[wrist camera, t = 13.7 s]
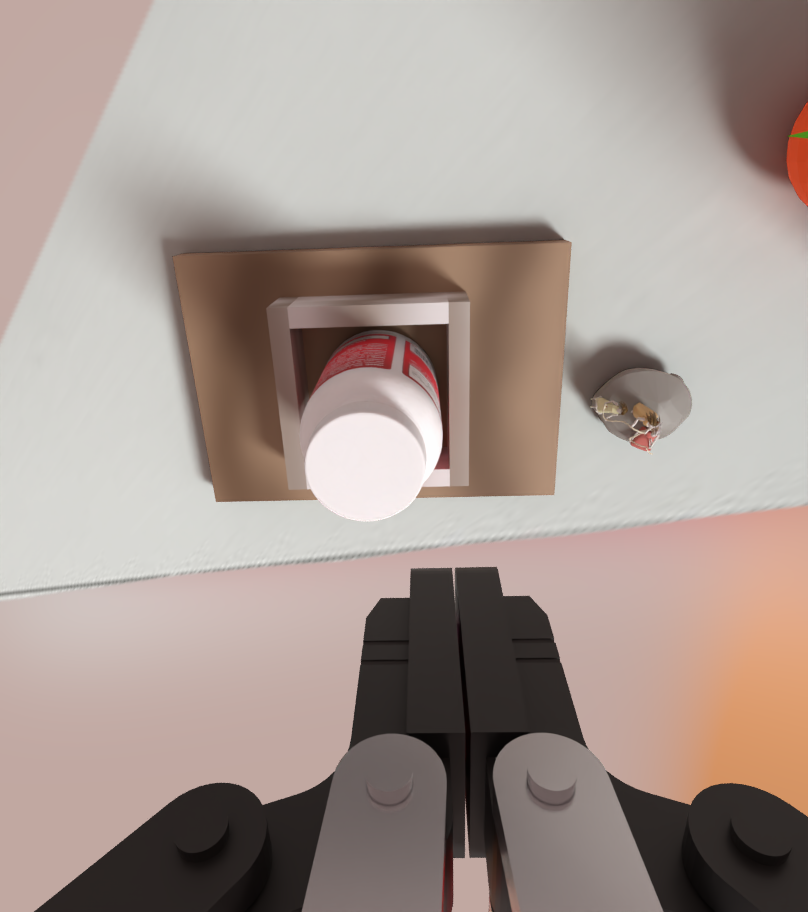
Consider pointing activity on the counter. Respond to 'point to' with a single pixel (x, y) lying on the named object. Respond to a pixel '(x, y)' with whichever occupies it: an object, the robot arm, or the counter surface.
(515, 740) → the robot arm
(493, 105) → the counter surface
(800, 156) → the clementine
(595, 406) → the figurine
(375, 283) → the bottle holder
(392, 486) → the pill bottle
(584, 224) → the counter surface
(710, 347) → the counter surface
